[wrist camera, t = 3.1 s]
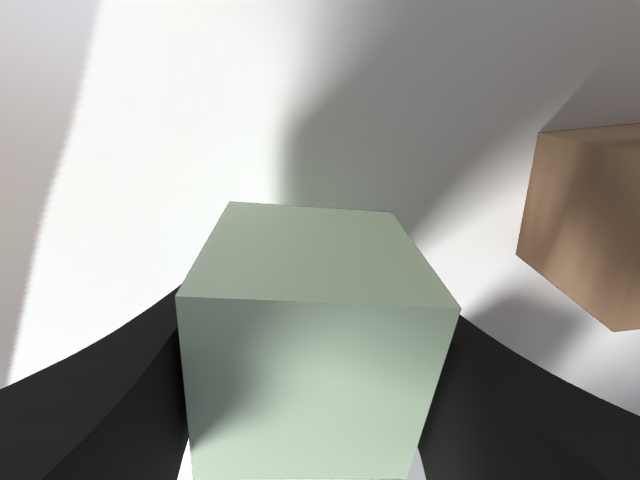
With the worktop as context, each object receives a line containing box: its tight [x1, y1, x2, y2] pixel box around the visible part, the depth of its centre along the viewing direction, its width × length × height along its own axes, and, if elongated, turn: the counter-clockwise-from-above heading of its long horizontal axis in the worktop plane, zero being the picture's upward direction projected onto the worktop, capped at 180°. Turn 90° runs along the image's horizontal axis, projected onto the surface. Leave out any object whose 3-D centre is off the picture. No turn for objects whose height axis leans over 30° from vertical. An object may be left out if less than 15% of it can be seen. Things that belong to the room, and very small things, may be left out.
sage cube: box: [175, 201, 461, 480], centre depth 9 cm, size 5×5×5 cm
